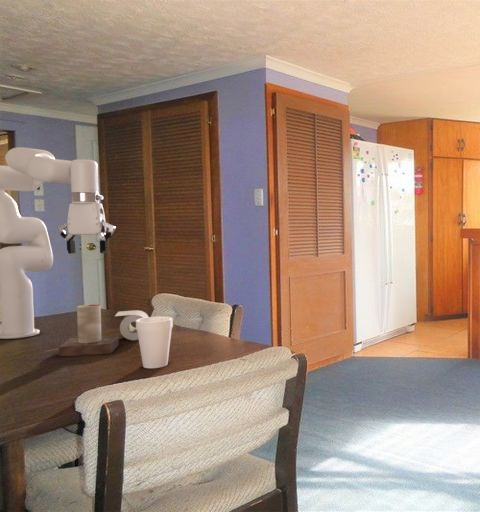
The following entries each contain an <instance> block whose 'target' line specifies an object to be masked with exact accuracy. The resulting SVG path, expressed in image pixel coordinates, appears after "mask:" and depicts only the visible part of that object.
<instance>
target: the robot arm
mask: <svg viewBox="0 0 480 512" xmlns="http://www.w3.org/2000/svg"><path fill="white" fill-rule="evenodd" d="M4 159H5V162H6V165H1V164H0V243H1V244H9V245H10V244H28V245H11V246H5V247H2V248H0V322H1V323H0V339H2V340H8V339H9V340H12V339H23V338H29V337H33V336H37V335H39V334H41V332H40V331H41V330H40V329H39V328H35V313H34V312H35V310H34V308H35V307H34V289H33V288H34V285H33V283H32V280H30V278H29V277H28V276H27V273H37V272H44V271H48V270H50V269H51V268H52V266H53V264H54V253H53V249H52V244H51V241H50V237H49V233H48V232H49V231H48V228H47V226H46V224H45V223H44V221H43V220H41V219H40V218H38V217H34V216H21V214H20V211H19V207H18V204H17V202H16V200H14V198H13V197H12V196H11V195H10V194H9V193H7V192H6V191H17V192H33V191H36V190H37V189H39V188H40V187H41V186H42V185H43V184H44V183H48V184H61V185H70V189H71V203H69V207H68V212H67V222H64V223H63V224H61V225H59V226H57V228H56V230H57V231H58V233H59V234H60V236H61V238H63V239H64V241H66V251H67V253H68V254H69V255H70V254H75V253H76V241H75V240H74V239H75V238H76V237H77V236H91V235H92V236H93V235H94V236H95V235H97V236H98V238H99V239H100V240H99V253H100V254H107V251H108V250H109V245H108V244H109V243H108V241H109V240H110V238H111V237H112V236H113V235H114V233H115V231H116V228H117V227H116V226H115V225H113V224H110V223H109V222H107V221H106V215H105V210H104V207H103V206H104V205H103V203H100V201H103V200H104V196H103V195H100V191H99V190H100V189H99V165H98V163H97V162H96V161H95V160H94V159H93V160H92V159H84V158H78V159H77V158H76V159H73V160H68V159H67V160H66V159H57V158H55V156H54V155H53V153H52V152H50V151H48V150H45V149H39V148H31V147H24V146H23V147H22V146H19V147H13V148H10V149H9V150H8V151H7V152H6V154H5V157H4ZM65 229H67V232H68V233H67V232H66V230H65ZM107 229H108V232H107Z"/></svg>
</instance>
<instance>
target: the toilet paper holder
mask: <svg viewBox="0 0 480 512" xmlns="http://www.w3.org/2000/svg"><path fill="white" fill-rule="evenodd" d="M121 316H122V317H123V316H124V317H123V319H122V320H121V322H120V323H119V332H120V334H121V336H122V337H123V338H124V339H127V340H128V341H139V339H138V333H137V330H136V327H134V326H133V325H132V323H136V320H138V319H141V318H147V317H150V316H149V315H148V314H147V313H146V312H145V311H143V310H138V309H136V310H122V311H117V313H116V314H115V315H114V317H121Z"/></svg>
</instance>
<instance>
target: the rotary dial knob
mask: <svg viewBox="0 0 480 512" xmlns="http://www.w3.org/2000/svg"><path fill="white" fill-rule="evenodd" d="M101 309H102V307H101V304H92V303H91V304H81V305H78V306H76V316H77V320H76V321H77V338H78V342H79V343H93V342H98V341H101V340H102V339H101V337H102V312H101V311H102V310H101Z"/></svg>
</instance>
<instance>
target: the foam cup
mask: <svg viewBox="0 0 480 512" xmlns="http://www.w3.org/2000/svg"><path fill="white" fill-rule="evenodd" d="M173 323H174V319H173V317H170V316H149V317H147V318H141V319H138V320H136V322H135V328H136V330H137V333H138V345H139V350H140V356H141V357H140V358H141V362H142V367H143V368H145V369H158V368H163V367H166V366H168V362H169V355H170V347H171V338H172V329H173V326H174V324H173Z"/></svg>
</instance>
